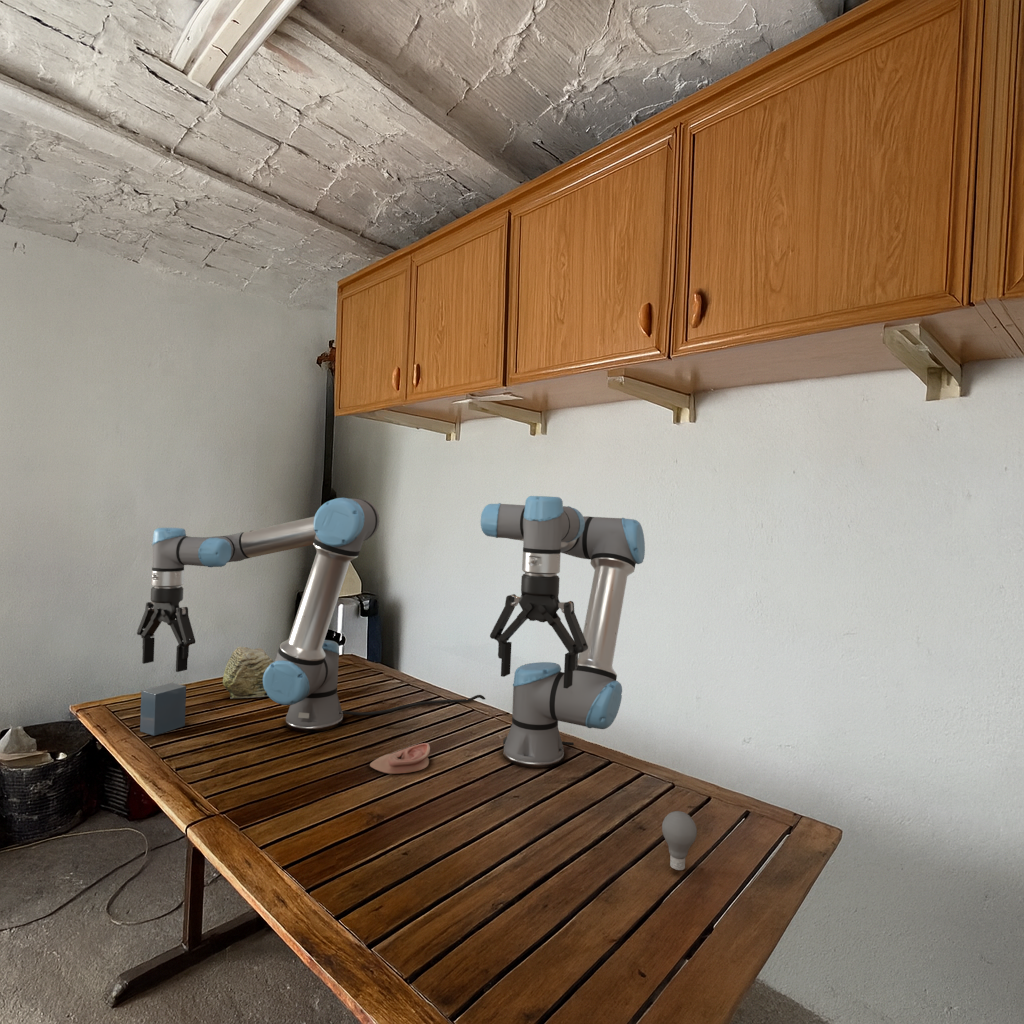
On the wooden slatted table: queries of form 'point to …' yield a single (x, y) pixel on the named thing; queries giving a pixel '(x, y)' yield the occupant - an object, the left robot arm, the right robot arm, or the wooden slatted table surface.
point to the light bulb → (679, 837)
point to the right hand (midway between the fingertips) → (535, 680)
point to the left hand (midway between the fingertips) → (164, 666)
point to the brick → (162, 708)
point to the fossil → (246, 673)
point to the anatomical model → (404, 760)
